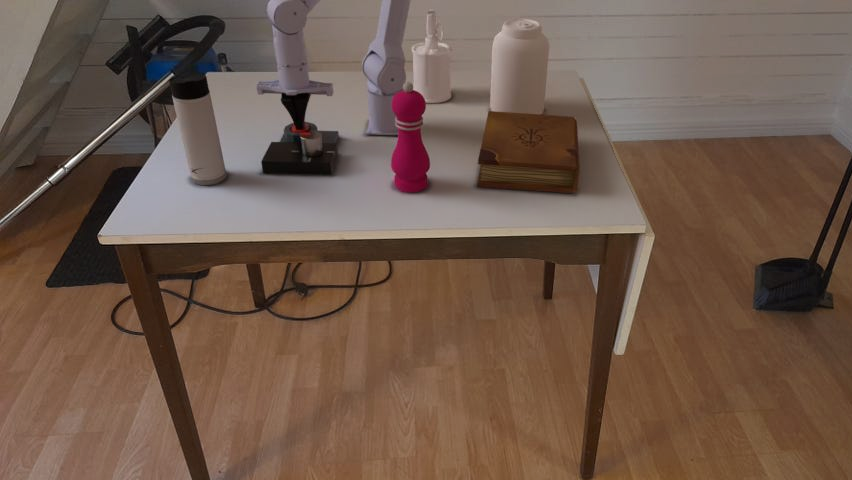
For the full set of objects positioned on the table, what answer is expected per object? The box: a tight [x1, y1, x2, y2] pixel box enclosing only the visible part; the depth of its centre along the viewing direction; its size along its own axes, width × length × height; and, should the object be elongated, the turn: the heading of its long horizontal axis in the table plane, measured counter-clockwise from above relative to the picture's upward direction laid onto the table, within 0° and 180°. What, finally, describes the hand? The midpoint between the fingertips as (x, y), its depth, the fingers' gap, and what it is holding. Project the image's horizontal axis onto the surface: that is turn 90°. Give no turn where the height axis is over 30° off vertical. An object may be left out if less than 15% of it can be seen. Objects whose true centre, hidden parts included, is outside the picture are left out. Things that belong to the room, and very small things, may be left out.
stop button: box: [291, 124, 310, 133], centre depth 144 cm, size 4×4×2 cm
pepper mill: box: [390, 81, 431, 194], centre depth 127 cm, size 7×7×20 cm
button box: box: [279, 121, 340, 144], centre depth 145 cm, size 11×7×4 cm, turn 91°
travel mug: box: [168, 73, 227, 186], centre depth 127 cm, size 6×7×20 cm
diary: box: [476, 110, 580, 194], centre depth 140 cm, size 23×19×6 cm
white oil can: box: [410, 8, 453, 104], centre depth 162 cm, size 10×9×20 cm
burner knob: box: [300, 130, 323, 157], centre depth 136 cm, size 4×4×4 cm
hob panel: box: [260, 141, 339, 176], centre depth 138 cm, size 13×8×3 cm, turn 91°
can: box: [489, 18, 550, 115], centre depth 157 cm, size 12×12×20 cm
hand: (300, 127), depth 143 cm, fingers closed, pressing on stop button
